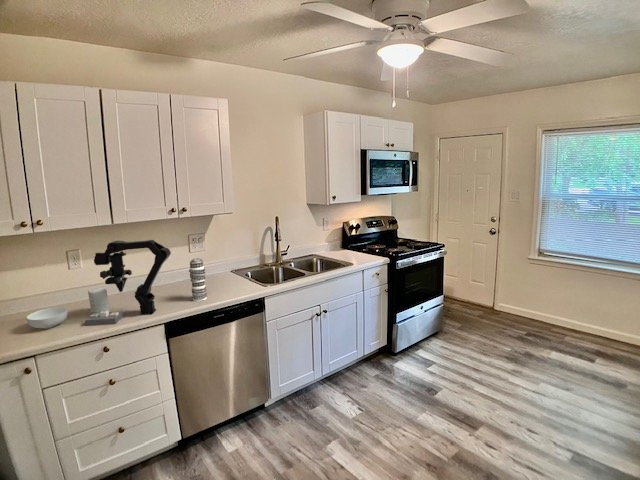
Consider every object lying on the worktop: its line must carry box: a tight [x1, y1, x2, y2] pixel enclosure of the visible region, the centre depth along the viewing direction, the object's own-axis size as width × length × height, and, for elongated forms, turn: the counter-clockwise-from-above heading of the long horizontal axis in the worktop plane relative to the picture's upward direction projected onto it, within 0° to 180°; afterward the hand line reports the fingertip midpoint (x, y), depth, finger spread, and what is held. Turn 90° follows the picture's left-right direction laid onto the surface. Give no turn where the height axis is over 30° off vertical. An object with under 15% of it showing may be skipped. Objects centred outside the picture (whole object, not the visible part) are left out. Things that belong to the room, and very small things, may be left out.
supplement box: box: [87, 287, 111, 314], centre depth 203 cm, size 7×7×13 cm
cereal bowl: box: [26, 306, 69, 330], centre depth 185 cm, size 17×17×7 cm
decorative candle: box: [188, 257, 208, 302], centre depth 217 cm, size 9×9×25 cm
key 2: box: [110, 311, 119, 316], centre depth 190 cm, size 3×3×3 cm
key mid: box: [100, 310, 110, 317], centre depth 189 cm, size 3×3×3 cm
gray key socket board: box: [84, 310, 125, 327], centre depth 190 cm, size 15×10×3 cm, turn 96°
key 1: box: [89, 313, 99, 318], centre depth 189 cm, size 3×3×3 cm
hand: (121, 291), depth 196 cm, fingers closed
